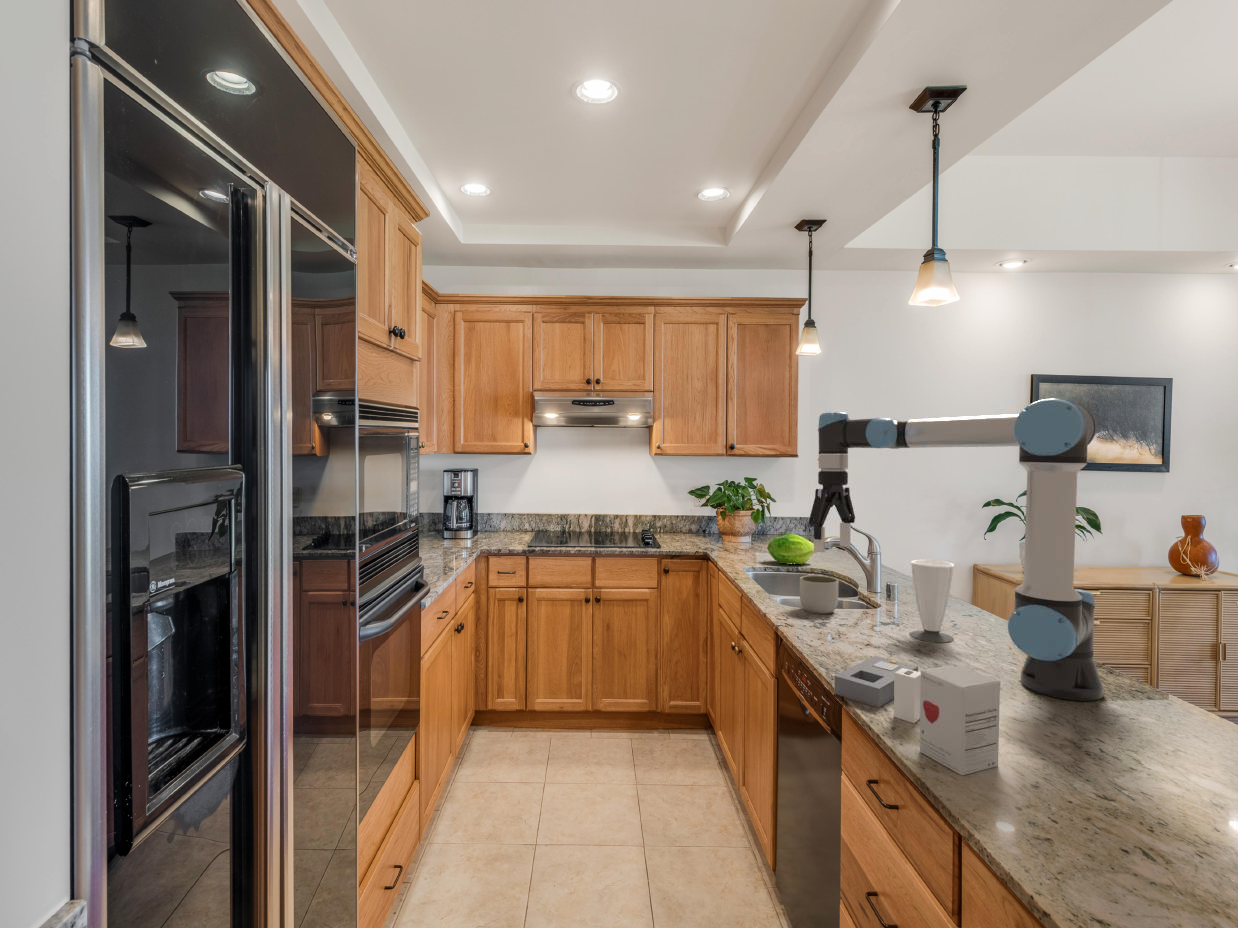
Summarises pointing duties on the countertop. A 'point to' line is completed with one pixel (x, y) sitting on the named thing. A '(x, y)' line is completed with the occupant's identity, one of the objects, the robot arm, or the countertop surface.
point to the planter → (818, 594)
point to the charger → (907, 695)
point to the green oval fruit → (791, 549)
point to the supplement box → (959, 718)
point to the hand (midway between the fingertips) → (832, 549)
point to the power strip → (870, 680)
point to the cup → (932, 597)
